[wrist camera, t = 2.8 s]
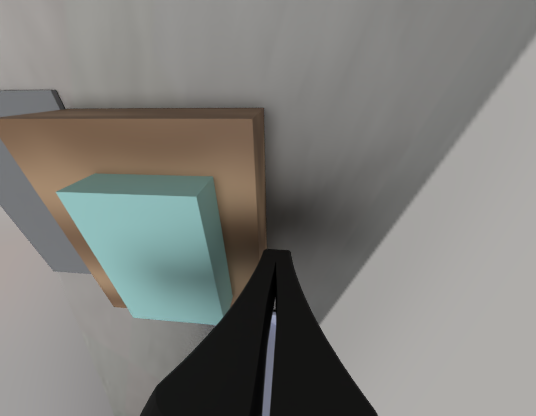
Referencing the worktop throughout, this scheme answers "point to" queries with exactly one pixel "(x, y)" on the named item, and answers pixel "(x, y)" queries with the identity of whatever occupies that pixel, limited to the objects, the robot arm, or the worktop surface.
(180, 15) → the worktop surface
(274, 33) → the worktop surface
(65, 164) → the brown flat block
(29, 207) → the mat
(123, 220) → the teal rectangular block
